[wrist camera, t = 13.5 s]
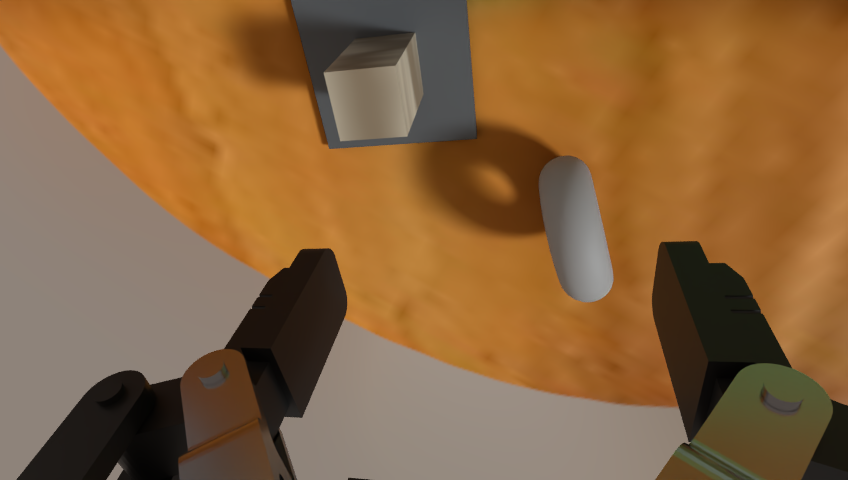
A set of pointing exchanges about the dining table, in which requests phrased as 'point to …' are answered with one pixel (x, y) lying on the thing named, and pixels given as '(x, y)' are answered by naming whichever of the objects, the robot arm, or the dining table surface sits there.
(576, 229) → the donut
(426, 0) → the rubber mat
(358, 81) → the maple block
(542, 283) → the dining table surface
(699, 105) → the dining table surface
